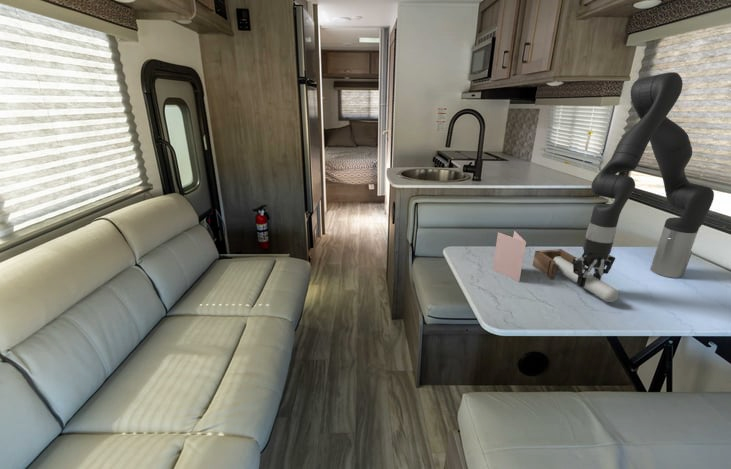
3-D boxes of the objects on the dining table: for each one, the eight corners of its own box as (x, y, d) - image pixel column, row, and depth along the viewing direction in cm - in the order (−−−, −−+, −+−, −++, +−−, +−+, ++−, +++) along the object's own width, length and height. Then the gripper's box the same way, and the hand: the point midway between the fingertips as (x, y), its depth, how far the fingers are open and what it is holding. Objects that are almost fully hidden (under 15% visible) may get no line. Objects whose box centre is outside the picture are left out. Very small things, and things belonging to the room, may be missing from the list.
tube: (625, 291, 108) (565, 257, 131) (613, 288, 107) (554, 254, 129) (616, 306, 110) (558, 270, 133) (604, 304, 108) (548, 267, 131)
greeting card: (521, 282, 124) (529, 242, 119) (500, 281, 125) (506, 241, 119) (510, 267, 135) (516, 230, 130) (490, 267, 135) (496, 230, 130)
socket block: (560, 263, 139) (563, 248, 137) (583, 277, 128) (586, 262, 126) (530, 265, 137) (532, 251, 135) (550, 280, 126) (553, 264, 124)
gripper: (609, 232, 117) (597, 278, 123) (571, 234, 114) (560, 281, 120) (629, 240, 110) (615, 289, 116) (588, 243, 107) (576, 292, 114)
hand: (587, 285), depth 118 cm, fingers closed on tube, 4 cm apart
